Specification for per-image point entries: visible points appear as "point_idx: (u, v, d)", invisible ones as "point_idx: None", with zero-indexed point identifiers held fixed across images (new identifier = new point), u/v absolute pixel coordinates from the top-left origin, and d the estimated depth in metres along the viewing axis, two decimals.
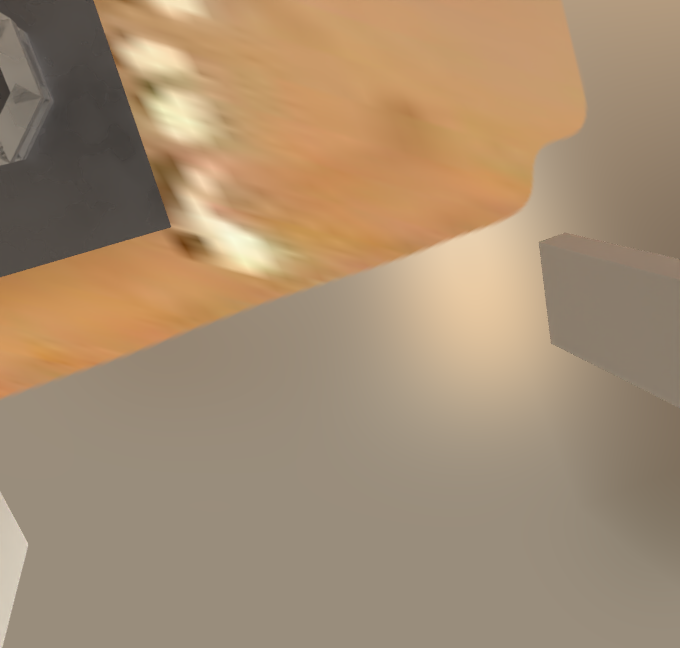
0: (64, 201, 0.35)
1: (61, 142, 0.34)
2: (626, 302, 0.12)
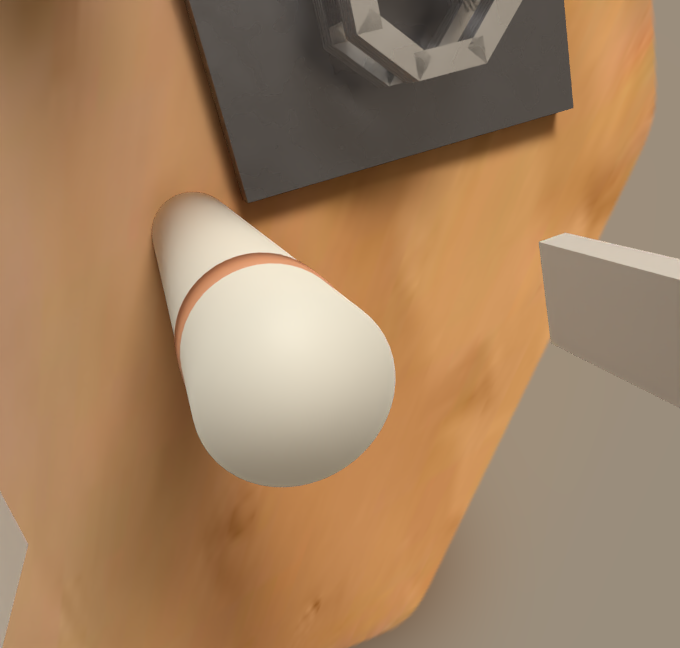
0: None
1: None
2: (626, 302, 0.12)
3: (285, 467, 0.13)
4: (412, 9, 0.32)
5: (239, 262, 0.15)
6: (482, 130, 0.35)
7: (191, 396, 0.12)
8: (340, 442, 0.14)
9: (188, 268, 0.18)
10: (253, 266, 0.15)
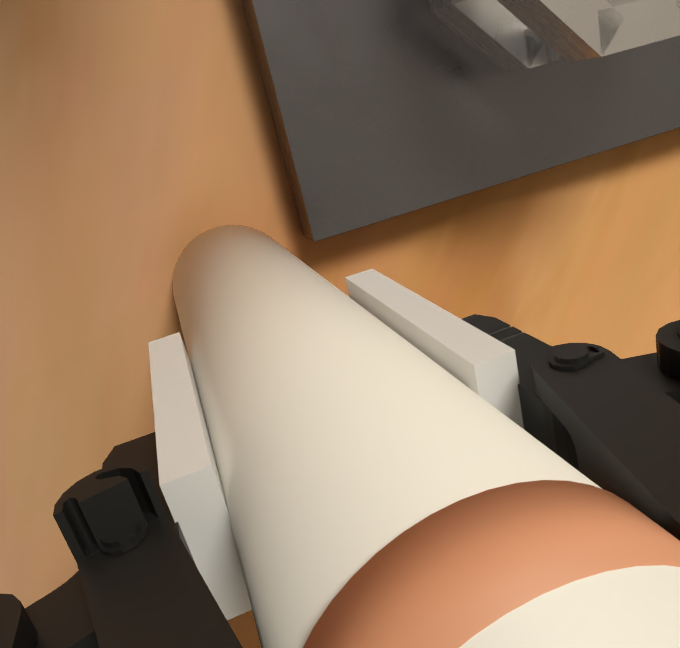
0: None
1: None
2: None
3: None
4: None
5: (501, 553, 0.05)
6: (639, 134, 0.24)
7: None
8: None
9: (291, 469, 0.07)
10: (576, 598, 0.04)
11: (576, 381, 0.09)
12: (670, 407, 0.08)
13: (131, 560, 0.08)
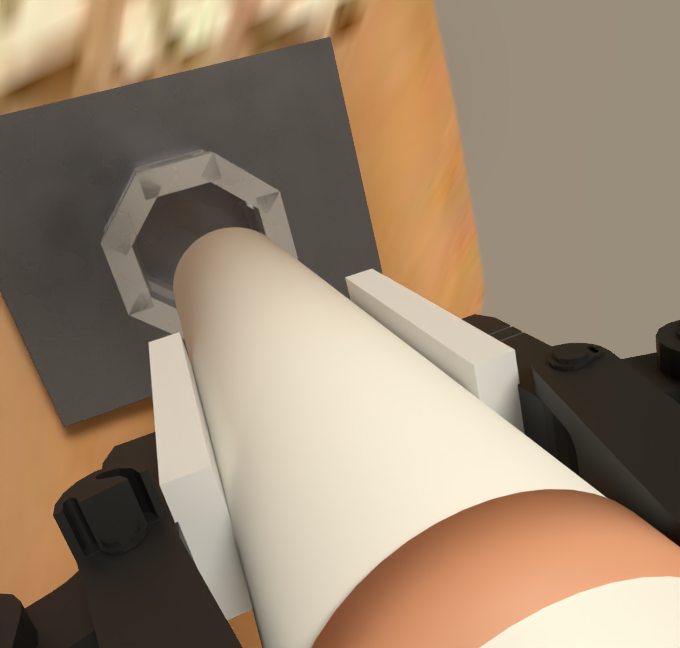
0: (300, 150, 0.34)
1: (241, 146, 0.33)
2: None
3: None
4: None
5: (505, 564, 0.05)
6: None
7: None
8: None
9: (294, 476, 0.07)
10: (581, 610, 0.04)
11: (576, 381, 0.09)
12: (670, 407, 0.08)
13: (131, 560, 0.08)
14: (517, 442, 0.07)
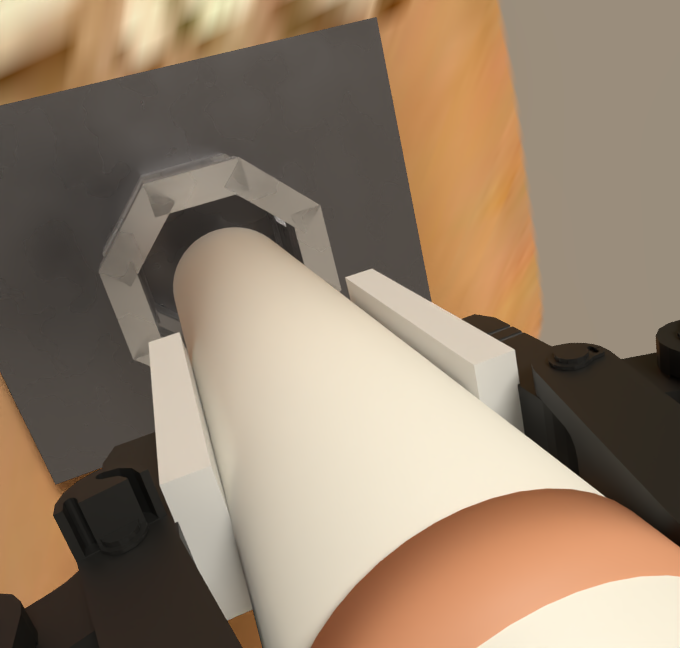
0: (339, 154, 0.28)
1: (269, 149, 0.27)
2: None
3: None
4: None
5: (504, 563, 0.05)
6: None
7: None
8: None
9: (294, 476, 0.07)
10: (579, 609, 0.04)
11: (576, 381, 0.09)
12: (670, 407, 0.08)
13: (132, 560, 0.08)
14: (516, 442, 0.07)
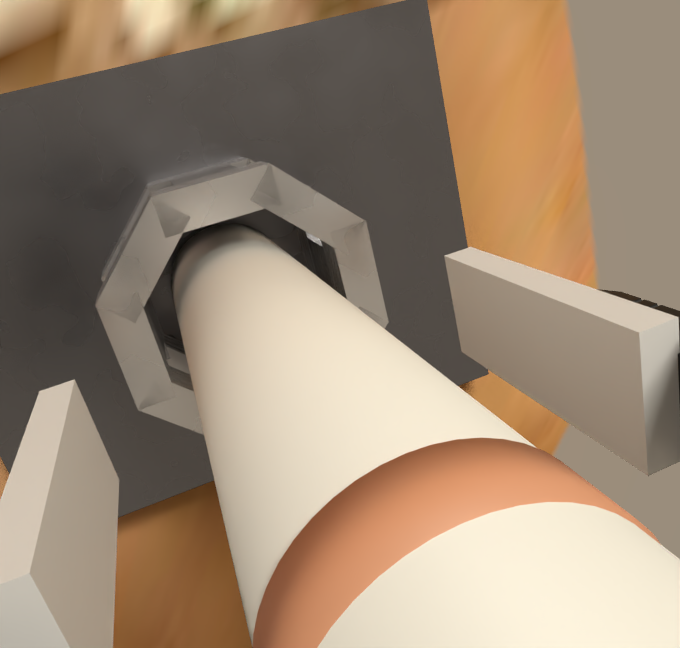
0: (379, 158, 0.24)
1: (298, 152, 0.23)
2: (510, 315, 0.13)
3: None
4: None
5: (434, 492, 0.06)
6: None
7: None
8: None
9: (268, 436, 0.08)
10: (490, 524, 0.05)
11: None
12: None
13: None
14: (465, 404, 0.08)
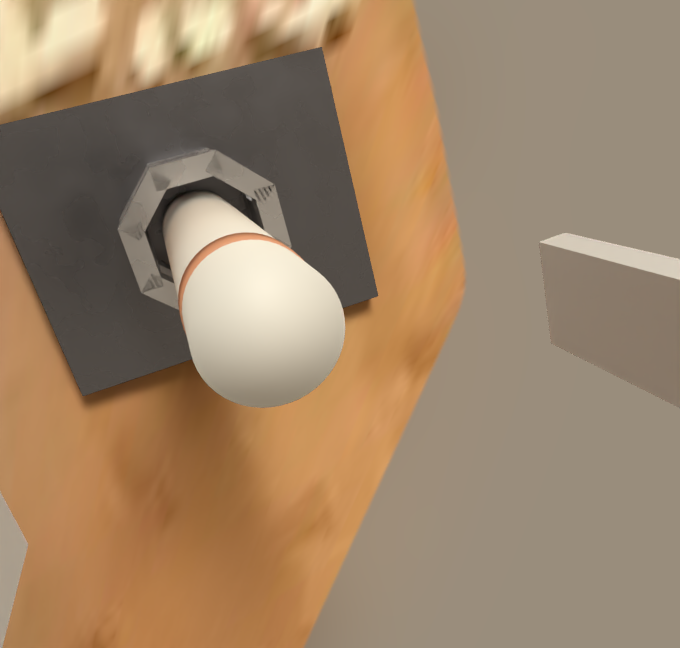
0: (295, 149, 0.38)
1: (242, 145, 0.37)
2: (626, 302, 0.12)
3: (261, 392, 0.18)
4: None
5: (228, 239, 0.19)
6: None
7: (189, 333, 0.16)
8: (302, 374, 0.18)
9: (190, 247, 0.22)
10: (238, 241, 0.19)
11: None
12: None
13: None
14: (261, 232, 0.22)
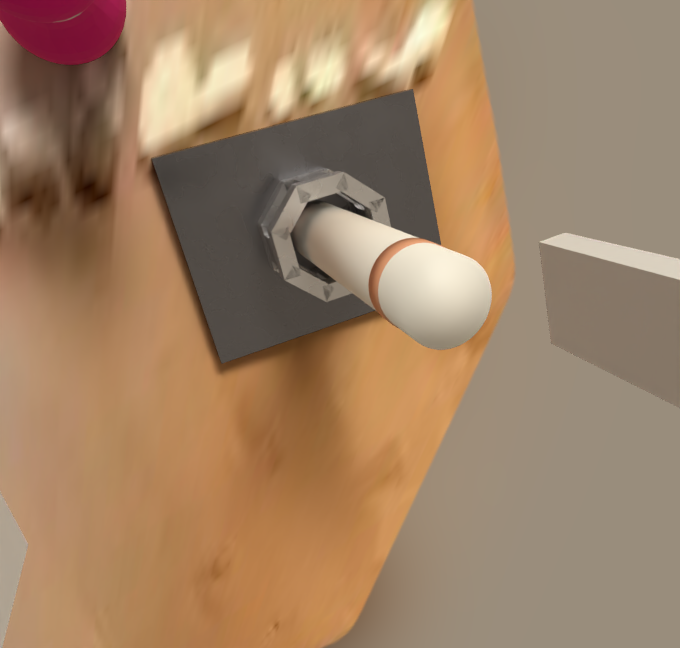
0: (389, 168, 0.48)
1: (350, 165, 0.47)
2: (626, 302, 0.12)
3: (439, 339, 0.28)
4: None
5: (407, 242, 0.30)
6: None
7: (402, 301, 0.27)
8: (464, 328, 0.28)
9: (366, 247, 0.32)
10: (416, 244, 0.29)
11: None
12: None
13: None
14: (416, 237, 0.32)
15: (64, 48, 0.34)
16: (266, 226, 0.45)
